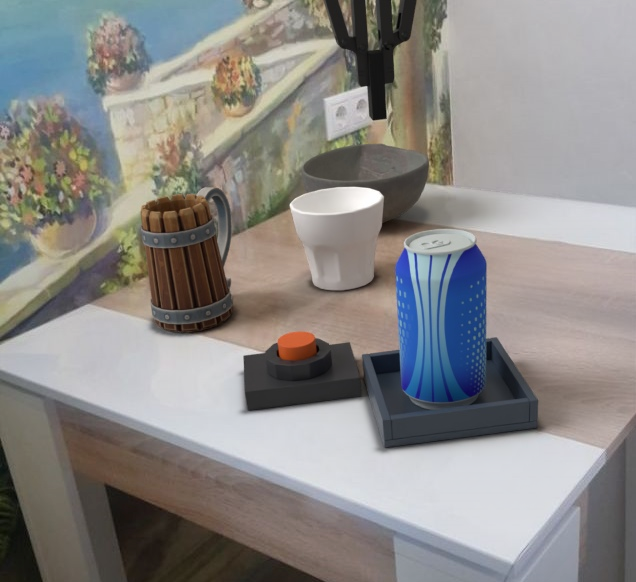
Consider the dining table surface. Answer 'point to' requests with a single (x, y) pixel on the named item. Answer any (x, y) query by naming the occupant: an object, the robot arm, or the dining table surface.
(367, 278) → the cup
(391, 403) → the shallow square tray
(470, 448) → the dining table surface
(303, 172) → the bowl
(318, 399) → the dark grey button base
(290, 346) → the button
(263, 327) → the dining table surface
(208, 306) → the mug
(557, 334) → the dining table surface
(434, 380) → the beer can
